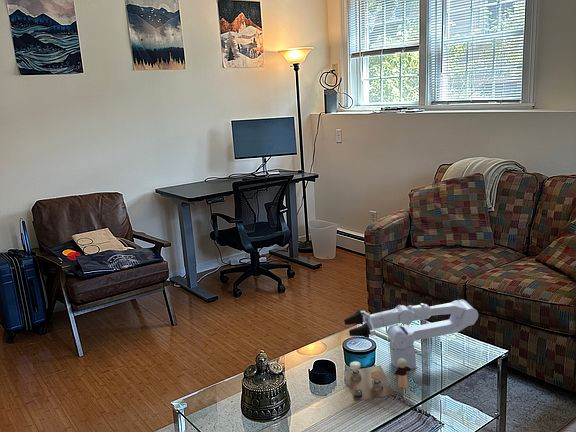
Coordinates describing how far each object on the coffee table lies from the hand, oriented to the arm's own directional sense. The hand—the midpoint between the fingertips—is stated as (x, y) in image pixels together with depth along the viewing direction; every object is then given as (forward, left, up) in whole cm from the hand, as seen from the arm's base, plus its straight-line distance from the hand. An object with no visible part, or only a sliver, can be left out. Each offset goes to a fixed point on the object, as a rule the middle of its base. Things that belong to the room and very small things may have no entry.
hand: (347, 327), depth 210 cm
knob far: (-1, +5, -17) cm, 17 cm away
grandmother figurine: (-16, +16, -21) cm, 30 cm away
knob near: (-7, +14, -17) cm, 23 cm away
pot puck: (+1, +17, -19) cm, 25 cm away
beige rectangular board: (-4, +10, -20) cm, 23 cm away
